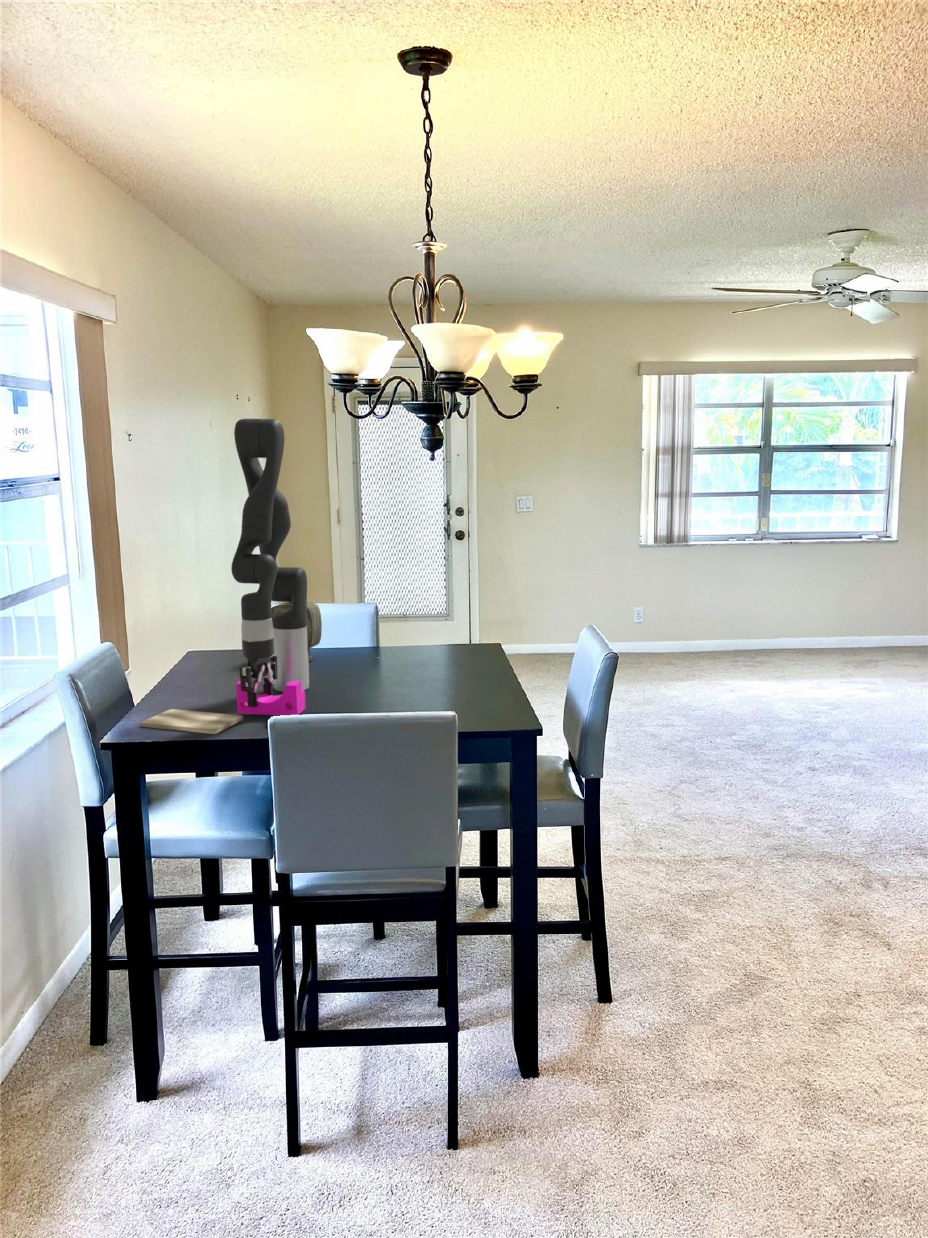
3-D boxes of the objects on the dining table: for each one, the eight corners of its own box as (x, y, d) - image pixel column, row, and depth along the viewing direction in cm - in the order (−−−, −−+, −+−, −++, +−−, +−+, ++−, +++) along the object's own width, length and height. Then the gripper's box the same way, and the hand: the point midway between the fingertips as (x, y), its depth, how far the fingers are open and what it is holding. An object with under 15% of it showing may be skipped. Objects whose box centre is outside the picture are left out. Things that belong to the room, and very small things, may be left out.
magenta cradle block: (305, 708, 219) (304, 678, 217) (297, 715, 213) (296, 685, 211) (247, 705, 221) (245, 676, 219) (237, 713, 215) (236, 683, 213)
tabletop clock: (270, 660, 276) (267, 580, 271) (282, 654, 284) (279, 577, 280) (313, 662, 272) (311, 582, 268) (324, 656, 281) (322, 578, 277)
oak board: (171, 712, 218) (171, 708, 218) (243, 719, 213) (242, 715, 212) (140, 726, 207) (140, 722, 207) (214, 734, 201) (214, 730, 201)
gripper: (259, 629, 221) (262, 694, 224) (227, 641, 208) (231, 709, 211) (286, 631, 219) (288, 696, 222) (255, 643, 206) (259, 712, 209)
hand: (260, 702), depth 217 cm, fingers closed on magenta cradle block, 7 cm apart
